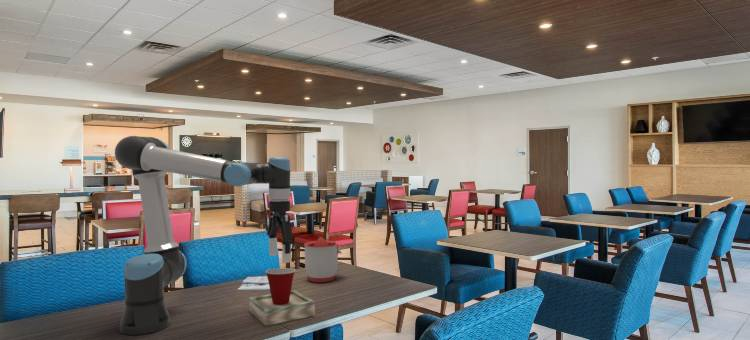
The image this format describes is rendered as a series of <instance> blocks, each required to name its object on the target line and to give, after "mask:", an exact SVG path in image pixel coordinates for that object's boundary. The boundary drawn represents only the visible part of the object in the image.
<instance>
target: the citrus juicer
mask: <svg viewBox="0 0 750 340" xmlns="http://www.w3.org/2000/svg"><path fill="white" fill-rule="evenodd" d="M303 245H304V266H305V267H304V268H305V272H306V276H307V278H308V281H310V282H313V283H327V282H328V283H329V281H330V282H332V281H333V280H335V278H336V276H337V271H338V270H337V269H338V265H339V264H338V262H339V261H338V258H339V257H338V256H339V254H340V255H341V254H343V252H342V251H341V250H340V249H339V244H338V243H336V241H334V240H327V239H325V238H323V236H319V237H318V238H317V240H312V241H307V242H304V243H303Z"/></svg>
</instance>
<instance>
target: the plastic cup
mask: <svg viewBox="0 0 750 340" xmlns="http://www.w3.org/2000/svg"><path fill="white" fill-rule="evenodd" d="M296 271H297V270H296V269H295V268H289V267H288V268H287V267H286V268H285V267H283V268H282V267H281V268H280V267H279V268H277V267H276V268H270V269H269V268H268V269H266V270H265V274H266V276H267V277H268V281H269V287H270V290H269V292H270V294H271V296H272V302H273V304H275V305H284V304H287V303H289V300H290V293H291V290H292V288H293V287H292V286H293V280H294V276H295V272H296Z"/></svg>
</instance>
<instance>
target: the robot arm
mask: <svg viewBox="0 0 750 340" xmlns="http://www.w3.org/2000/svg"><path fill="white" fill-rule="evenodd" d="M114 157H115V160H116V161H117V162H118V164H120V166H122V167H123V168H125V169H129V170H131V173H132V177H133V178H135V179H136V180H137V181H138V188H139V195H140V201H141V207H142V214H143V221H144V228H145V233H146V242H147V247H146V248H145V249H144V250H143V253H144V254H140V255H136V256H132V257H131V258H129V259H128V260H127V261H126V262H125V263H124V270H123V276H124V277H123V278H124V281H123V282H124V303H125V304H124V310H123V313H122V316H121V319H120V321H119V332H120V333H121V334H123V335H129V336H130V335H131V336H133V335H134V336H137V335H145V334H151V333H154V332H155V333H156V332H158V331H161V330H164V329H165V328H167V327H168V326H170V324H171V315H170V313H169V311H168V308H167V305H166V303H165V297H164V296H165V292H164V289H165V287H166V286H169V285H170V284H173V283H175V282H177V281H178V280H179V279H180V278H181V277H182V276H183V275H184V274H185V272H186V270H187V267H188V263H187V262H188V261H187V257H186V256H185V254H184V253H183V252H182V251H181V250H180V245H179V243H177V242H175V240H174V234H173V228H172V222H171V221H172V220H171V213H170V208H169V200H168V194H167V189H166V188H167V187H166V180H165V176H166V175H167V173H172V174H178V175H182V176H188V177H192V178H193V177H194V178H197V179H198V178H199V179H205V180H208V181H209V180H210V181H214V182H220V183H225V184H228V185H230V186H232V187H233V186H234V187H243V186H245V185H253V184H254V185H255V184H256V185H257V184H258V185H259V184H260V185H262V184H265V185H266V184H268V200H269V201H268V211H269V221H268V227H267V230H266V231H267V233H266V236H268V238H269V239H268V240H269V241H268V243H269V244H268V246H269V247H268V248H269V249H268V250H269V253H268V255H269V257H272V256H273V257H274V256H278V232H279V231H280V235H281V239H282V243H281V246H282V253H281V254H282V257H281V258H282V259H281V260H282V261H281V262H282V264H287V263H288V264H289V263H292V262H291V257H292V256H291V254H292V252H291V250H292V249H291V248H292V245H291V244H294V238H293V231H292V226H291V225H292V224H291V216H290V214H287V212H290V211H291V201H290V200H291V194H292V190H291V171H292V170H291V163H290V158H288V157H281V156H280V157H279V156H278V157H277V156H276V157H269V159H268V162H239V161H233V160H227V159H221V158H217V157H213V156H206V155H202V154H196V153H191V152H186V151H180V150H176V149H170V147H169V146H168V145H167V144H166V142H164V141H163V140H161V139H159V138H156V137H152V136H140V135H139V136H138V135H129V136H127V137H123V138H122V139H120V140H119V141H118V142H117V144H116V145H115V148H114Z"/></svg>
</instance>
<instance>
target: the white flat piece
mask: <svg viewBox="0 0 750 340" xmlns="http://www.w3.org/2000/svg"><path fill="white" fill-rule="evenodd" d="M236 290H237V291H270V287H269V281H268V277H267V275H265V276H264V275H262V276H247V277H246V278H245V279H244V280H242V281H241V285H240V287H239V288H237V289H236Z"/></svg>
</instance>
